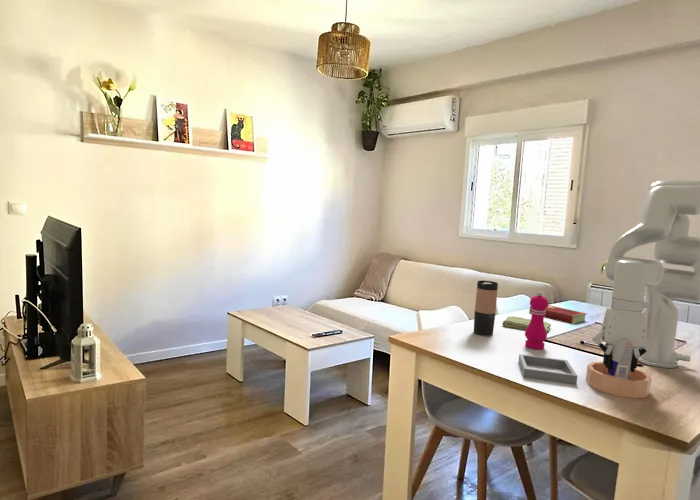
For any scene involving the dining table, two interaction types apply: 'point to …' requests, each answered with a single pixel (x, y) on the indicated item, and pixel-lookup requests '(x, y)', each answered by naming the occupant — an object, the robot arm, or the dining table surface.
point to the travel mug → (485, 308)
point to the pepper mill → (537, 323)
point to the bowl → (618, 382)
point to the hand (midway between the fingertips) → (619, 368)
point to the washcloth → (520, 323)
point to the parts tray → (547, 375)
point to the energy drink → (621, 359)
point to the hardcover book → (563, 314)
